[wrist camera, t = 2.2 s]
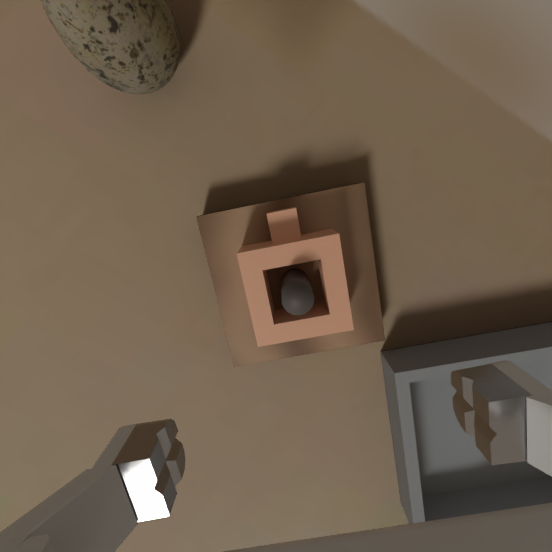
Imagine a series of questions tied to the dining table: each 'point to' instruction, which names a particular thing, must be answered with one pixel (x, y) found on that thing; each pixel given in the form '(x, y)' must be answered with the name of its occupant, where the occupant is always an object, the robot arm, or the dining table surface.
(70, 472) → the dining table surface
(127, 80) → the decorative egg
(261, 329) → the ring
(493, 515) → the robot arm
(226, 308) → the base
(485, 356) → the tray
